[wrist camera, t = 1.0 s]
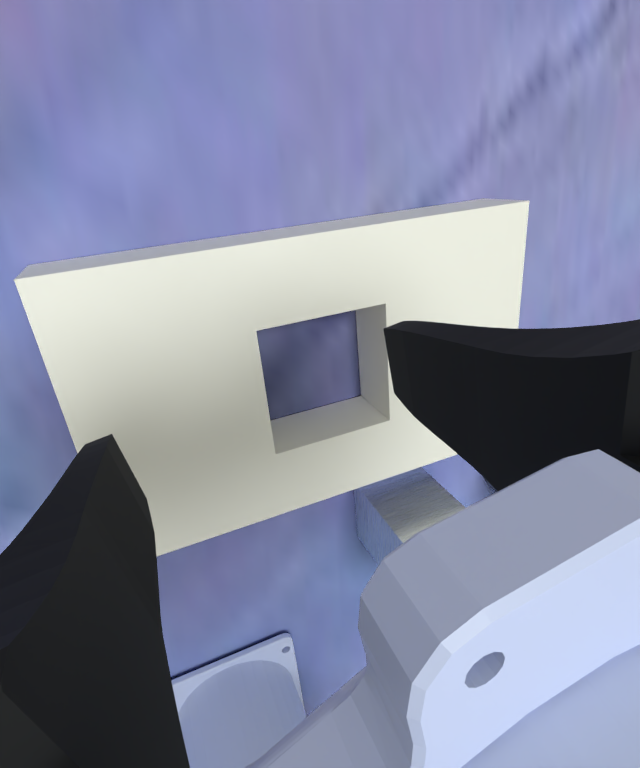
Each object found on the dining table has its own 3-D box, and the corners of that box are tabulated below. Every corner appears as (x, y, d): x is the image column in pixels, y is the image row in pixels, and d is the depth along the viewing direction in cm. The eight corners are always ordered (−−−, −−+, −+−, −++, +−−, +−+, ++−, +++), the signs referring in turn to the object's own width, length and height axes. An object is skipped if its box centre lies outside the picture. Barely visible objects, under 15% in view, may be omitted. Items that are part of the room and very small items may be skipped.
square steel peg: (414, 514, 30) (506, 614, 23) (357, 536, 28) (435, 648, 22) (414, 461, 28) (512, 551, 21) (352, 481, 27) (436, 584, 20)
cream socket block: (472, 413, 28) (508, 436, 26) (118, 524, 22) (119, 569, 20) (483, 198, 23) (529, 200, 21) (28, 265, 17) (13, 279, 15)
